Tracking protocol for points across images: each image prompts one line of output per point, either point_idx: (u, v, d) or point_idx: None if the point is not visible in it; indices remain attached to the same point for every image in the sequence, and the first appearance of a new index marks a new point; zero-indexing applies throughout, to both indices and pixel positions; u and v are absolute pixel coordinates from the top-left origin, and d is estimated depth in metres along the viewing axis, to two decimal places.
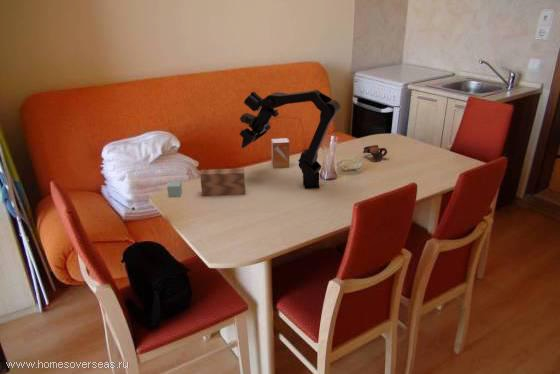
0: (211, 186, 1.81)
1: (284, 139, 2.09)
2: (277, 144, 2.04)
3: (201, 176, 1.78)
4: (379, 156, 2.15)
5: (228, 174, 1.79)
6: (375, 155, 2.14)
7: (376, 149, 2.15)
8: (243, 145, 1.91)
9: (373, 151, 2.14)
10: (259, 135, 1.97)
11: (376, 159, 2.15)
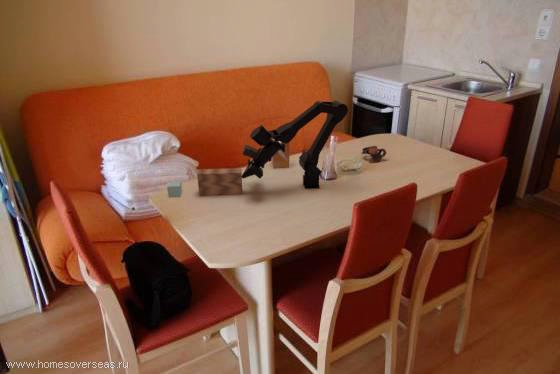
0: (208, 186, 1.81)
1: None
2: None
3: (198, 176, 1.78)
4: (378, 157, 2.14)
5: (225, 174, 1.79)
6: (374, 156, 2.13)
7: (375, 150, 2.14)
8: (245, 175, 1.81)
9: (372, 152, 2.13)
10: None
11: (375, 160, 2.13)
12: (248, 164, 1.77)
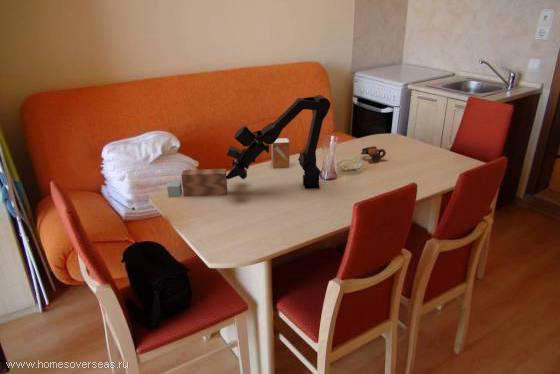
0: (192, 187, 1.80)
1: (285, 139, 2.09)
2: (277, 144, 2.04)
3: (182, 176, 1.78)
4: (378, 157, 2.14)
5: (210, 174, 1.79)
6: (374, 156, 2.13)
7: (374, 150, 2.13)
8: (229, 176, 1.81)
9: (372, 152, 2.13)
10: None
11: (375, 160, 2.13)
12: (232, 165, 1.77)
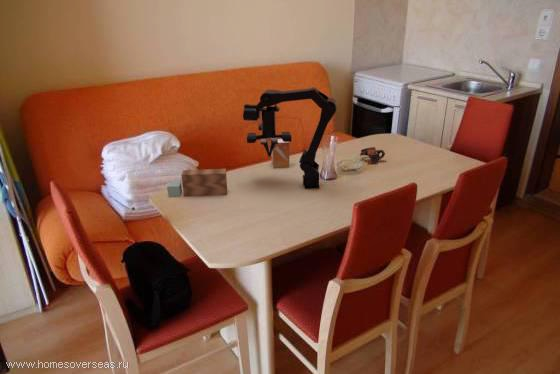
0: (192, 187, 1.80)
1: None
2: (277, 144, 2.04)
3: (182, 177, 1.78)
4: (377, 158, 2.13)
5: (210, 174, 1.79)
6: (373, 157, 2.11)
7: (374, 151, 2.12)
8: (267, 152, 1.86)
9: (371, 153, 2.11)
10: (270, 146, 1.84)
11: (374, 161, 2.12)
12: None
